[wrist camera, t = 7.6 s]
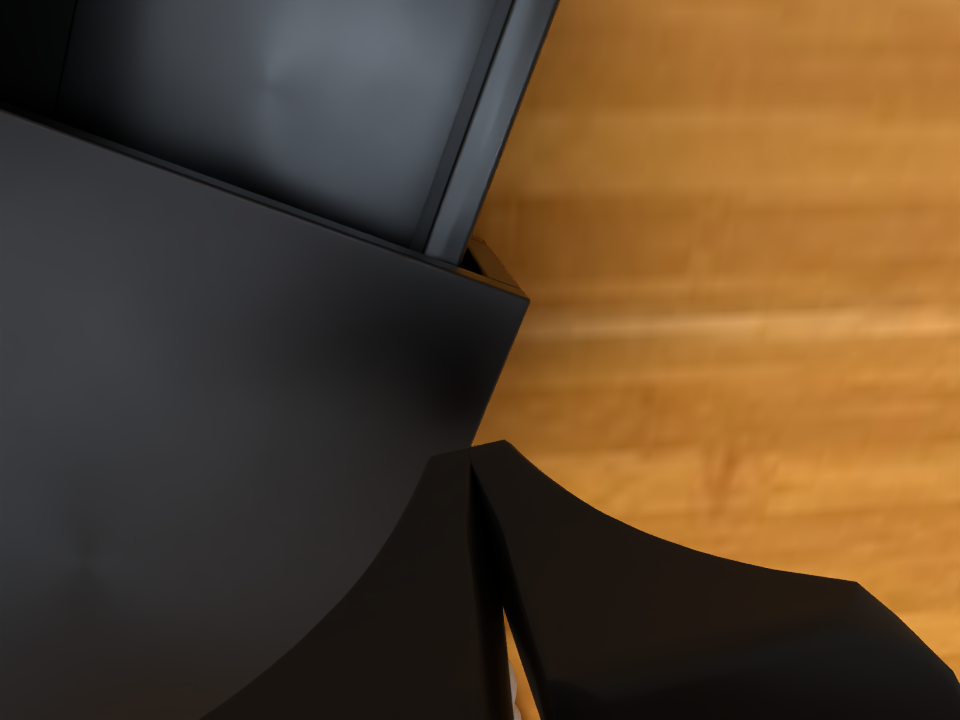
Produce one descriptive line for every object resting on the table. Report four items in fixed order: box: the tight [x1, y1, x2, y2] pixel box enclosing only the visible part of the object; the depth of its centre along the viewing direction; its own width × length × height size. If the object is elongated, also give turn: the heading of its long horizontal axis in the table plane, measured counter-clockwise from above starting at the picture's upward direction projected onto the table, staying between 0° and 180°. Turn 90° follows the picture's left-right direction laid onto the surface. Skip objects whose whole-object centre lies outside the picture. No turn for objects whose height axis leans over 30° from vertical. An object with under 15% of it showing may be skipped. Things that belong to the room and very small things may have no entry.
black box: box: [0, 101, 530, 720], centre depth 16 cm, size 16×13×7 cm
